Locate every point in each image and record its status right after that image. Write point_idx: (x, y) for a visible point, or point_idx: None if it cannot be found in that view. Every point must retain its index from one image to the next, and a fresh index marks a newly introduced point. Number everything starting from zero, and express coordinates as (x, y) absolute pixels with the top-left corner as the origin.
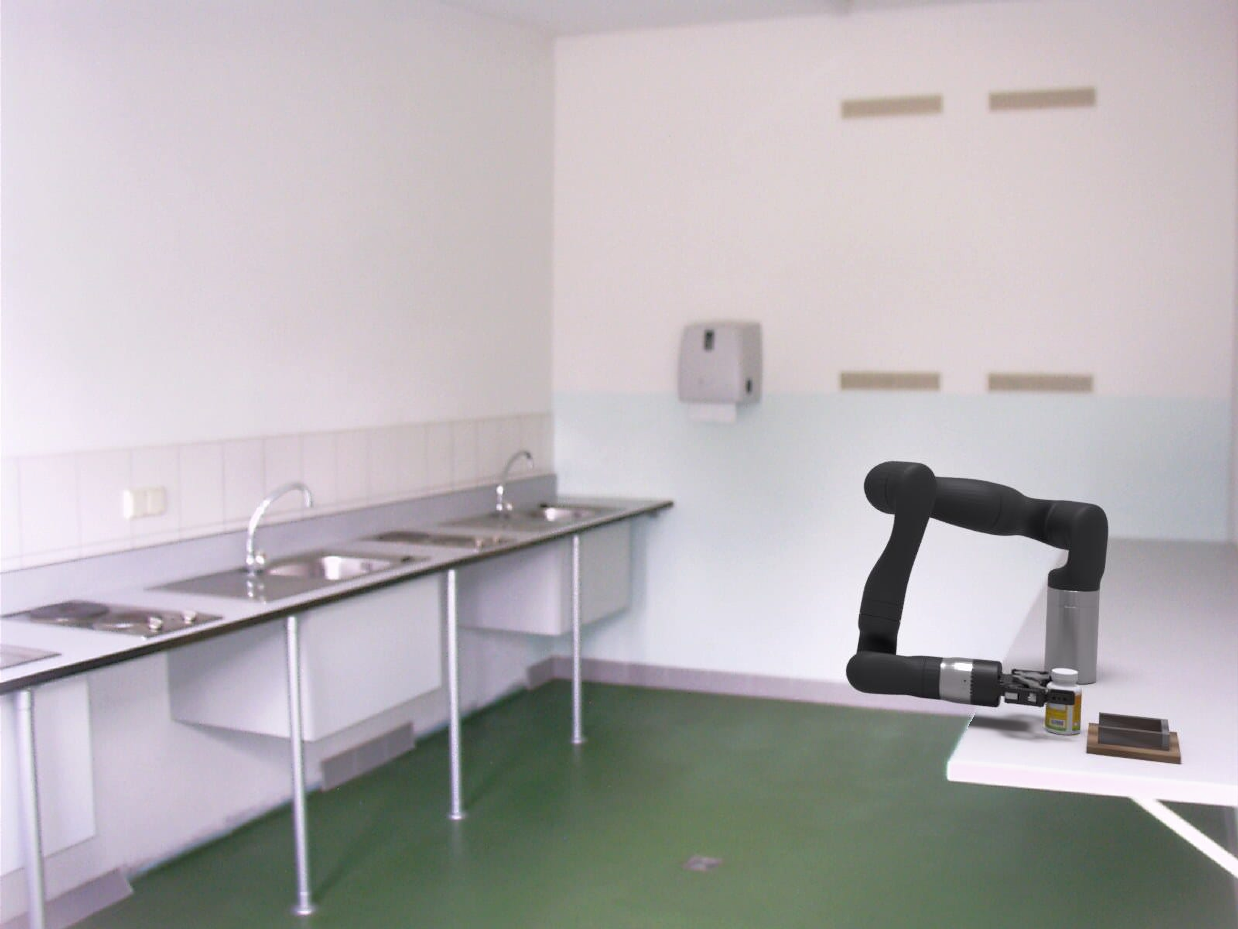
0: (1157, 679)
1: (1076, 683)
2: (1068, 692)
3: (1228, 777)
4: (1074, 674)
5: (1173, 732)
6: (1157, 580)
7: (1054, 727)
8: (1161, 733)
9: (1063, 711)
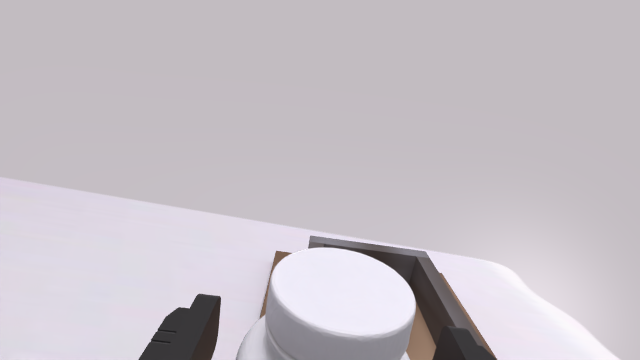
0: None
1: (218, 306)
2: (473, 347)
3: (453, 254)
4: (381, 262)
5: (280, 254)
6: None
7: None
8: (426, 258)
9: None
